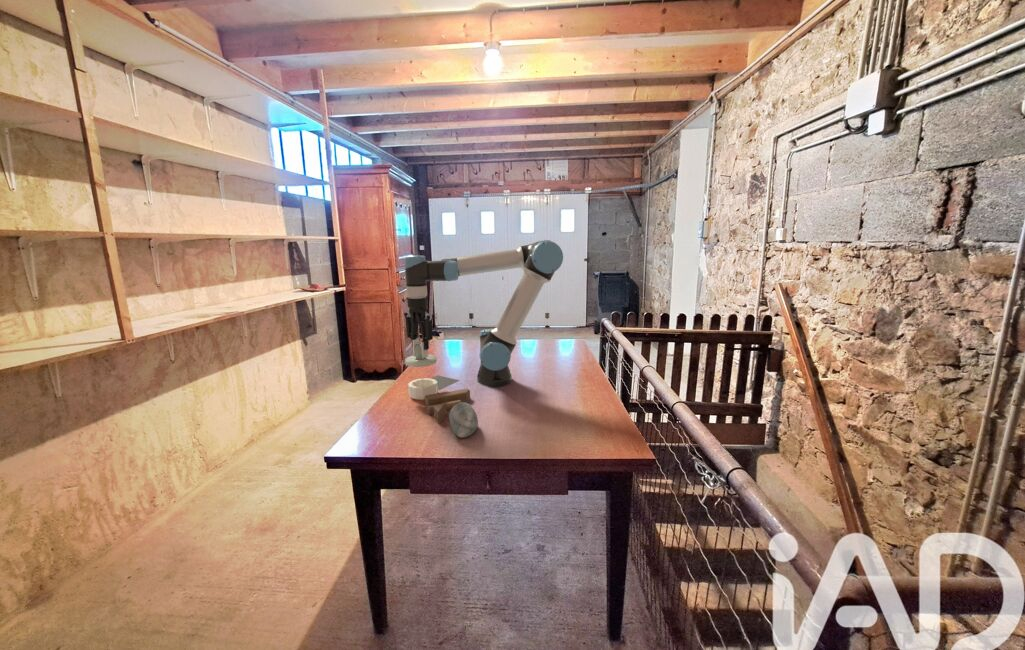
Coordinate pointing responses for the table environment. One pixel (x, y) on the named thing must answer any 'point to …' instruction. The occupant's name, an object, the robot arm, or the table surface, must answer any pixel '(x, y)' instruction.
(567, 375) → the table surface
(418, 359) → the lid
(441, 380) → the trivet
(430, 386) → the bowl
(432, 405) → the brown jagged block
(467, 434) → the grey rock
